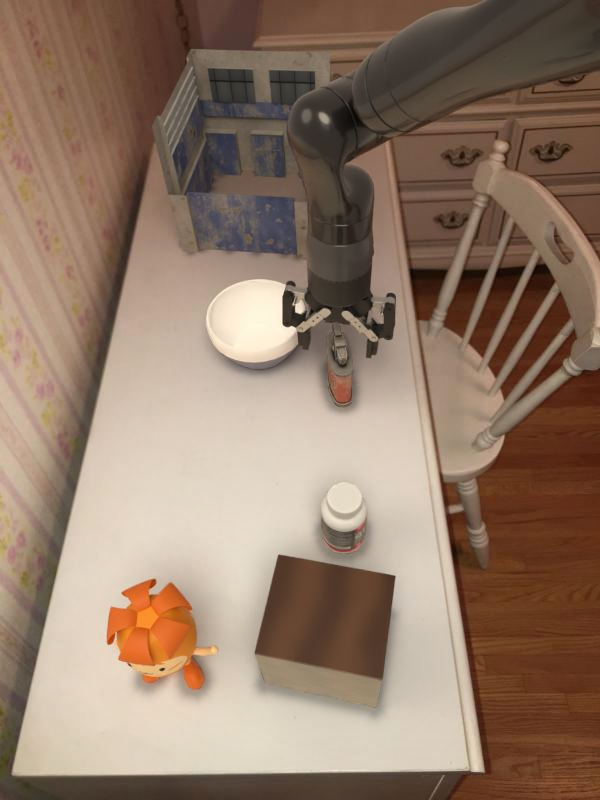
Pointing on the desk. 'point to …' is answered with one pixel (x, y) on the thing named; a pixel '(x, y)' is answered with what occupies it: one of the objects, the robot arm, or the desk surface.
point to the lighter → (339, 367)
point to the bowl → (252, 324)
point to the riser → (326, 630)
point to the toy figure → (157, 634)
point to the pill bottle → (343, 518)
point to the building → (235, 147)
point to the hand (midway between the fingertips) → (338, 349)
